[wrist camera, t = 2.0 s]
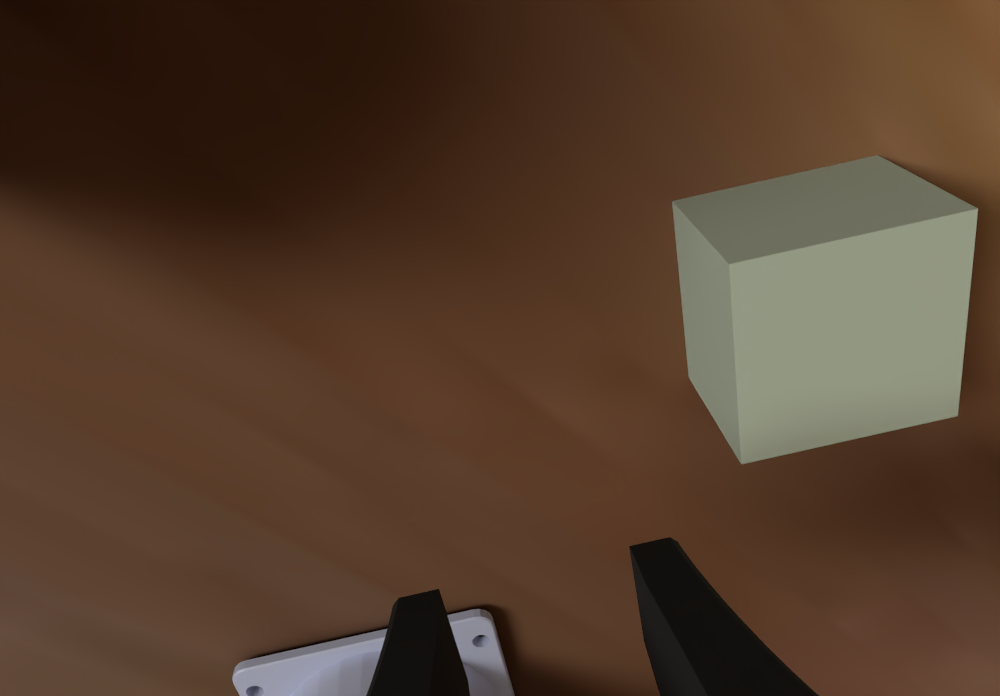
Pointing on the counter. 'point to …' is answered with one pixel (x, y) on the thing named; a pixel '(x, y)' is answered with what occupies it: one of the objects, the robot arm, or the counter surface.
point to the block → (825, 304)
